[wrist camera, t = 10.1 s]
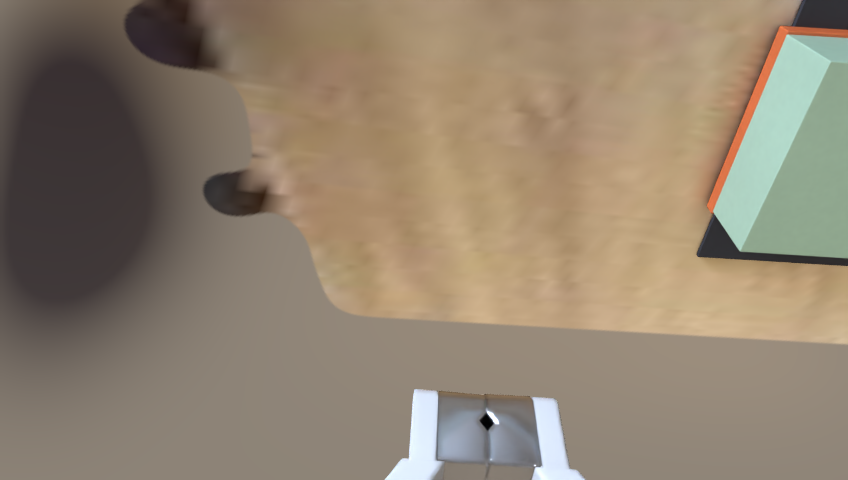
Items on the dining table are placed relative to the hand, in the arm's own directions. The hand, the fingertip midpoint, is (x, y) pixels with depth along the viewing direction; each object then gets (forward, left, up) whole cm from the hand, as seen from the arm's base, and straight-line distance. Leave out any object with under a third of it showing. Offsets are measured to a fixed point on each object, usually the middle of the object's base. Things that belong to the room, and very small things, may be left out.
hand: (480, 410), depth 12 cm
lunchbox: (-10, +16, -24) cm, 30 cm away
